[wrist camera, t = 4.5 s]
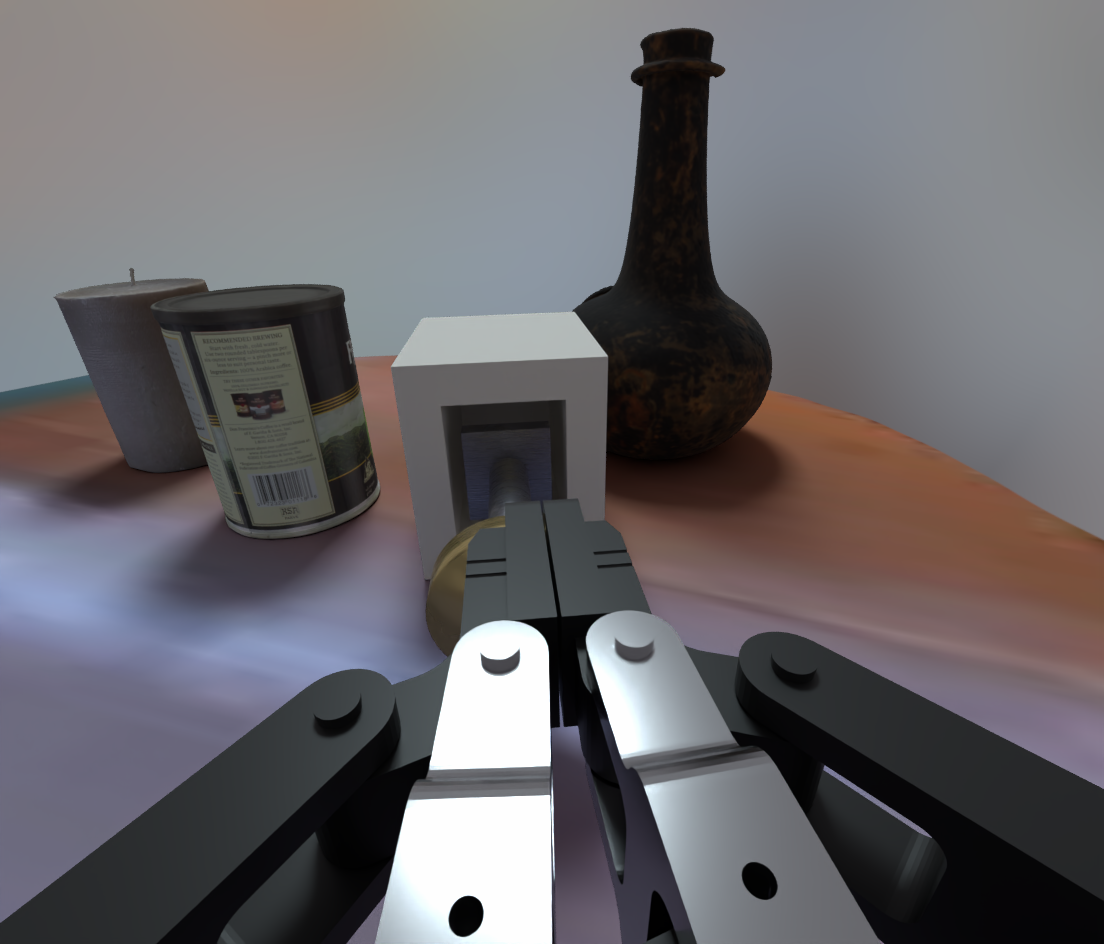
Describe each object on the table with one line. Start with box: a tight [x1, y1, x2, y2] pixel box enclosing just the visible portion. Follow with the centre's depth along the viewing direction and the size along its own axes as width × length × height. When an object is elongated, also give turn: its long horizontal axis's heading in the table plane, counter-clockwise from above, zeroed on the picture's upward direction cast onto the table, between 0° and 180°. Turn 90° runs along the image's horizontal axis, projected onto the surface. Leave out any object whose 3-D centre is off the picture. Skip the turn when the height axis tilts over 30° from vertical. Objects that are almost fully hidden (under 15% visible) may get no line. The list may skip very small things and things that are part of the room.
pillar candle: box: [54, 268, 208, 473], centre depth 44 cm, size 10×10×15 cm
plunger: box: [426, 421, 552, 657], centre depth 23 cm, size 12×6×6 cm, turn 5°
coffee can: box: [150, 284, 380, 539], centre depth 35 cm, size 10×10×14 cm
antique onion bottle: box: [572, 28, 772, 460], centre depth 41 cm, size 18×18×28 cm
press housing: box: [391, 312, 608, 580], centre depth 33 cm, size 12×10×12 cm
